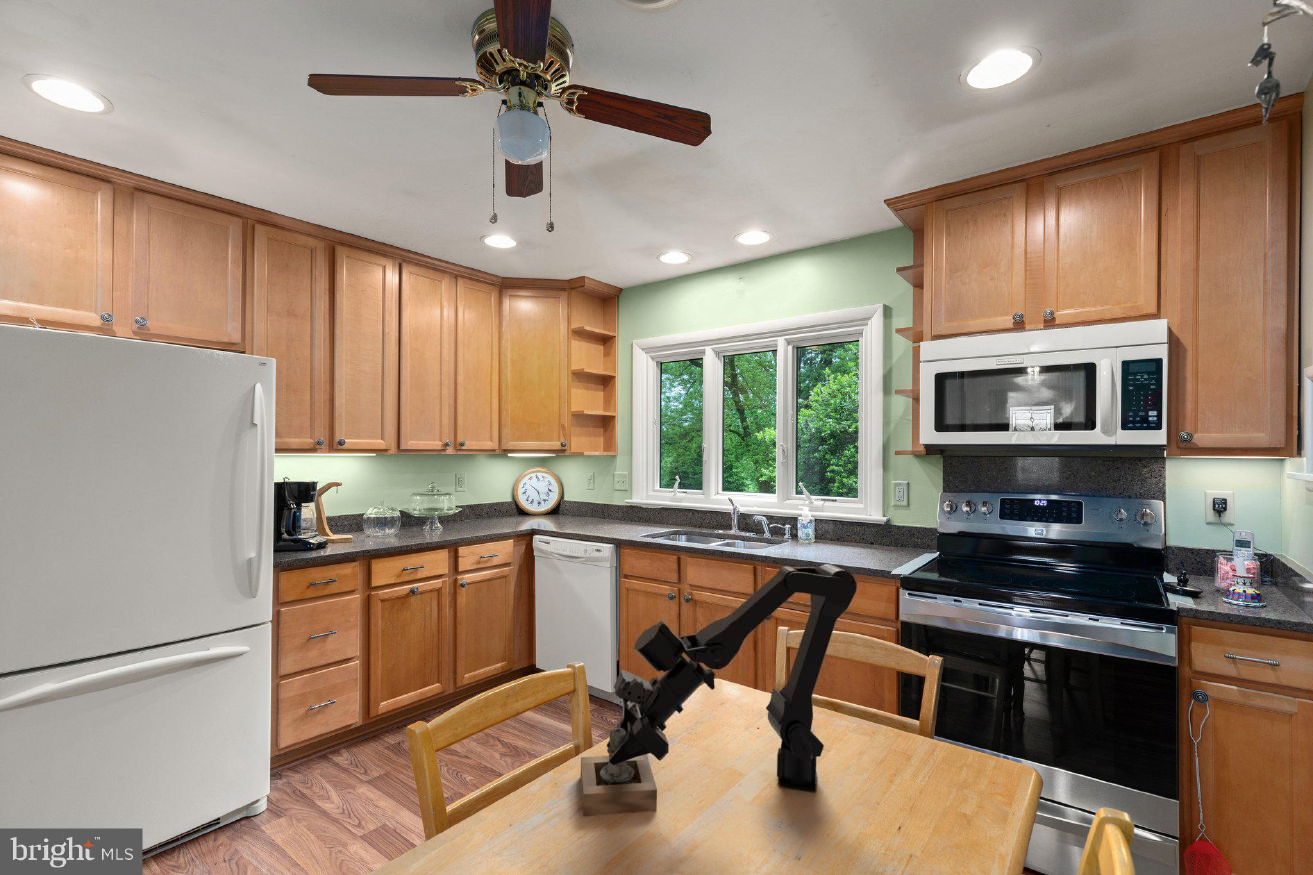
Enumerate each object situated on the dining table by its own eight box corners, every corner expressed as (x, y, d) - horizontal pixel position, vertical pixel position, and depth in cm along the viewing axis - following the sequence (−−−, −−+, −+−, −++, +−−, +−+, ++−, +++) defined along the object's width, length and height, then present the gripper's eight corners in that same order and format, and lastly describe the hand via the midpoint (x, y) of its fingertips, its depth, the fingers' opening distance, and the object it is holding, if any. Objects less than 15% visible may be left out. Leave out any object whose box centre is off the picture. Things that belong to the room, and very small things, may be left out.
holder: (646, 772, 115) (646, 753, 115) (656, 810, 103) (657, 789, 104) (580, 776, 113) (580, 757, 113) (583, 815, 102) (583, 794, 102)
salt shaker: (632, 803, 105) (634, 731, 106) (597, 802, 106) (599, 730, 106) (634, 784, 111) (636, 716, 111) (601, 783, 111) (603, 715, 112)
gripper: (635, 639, 118) (575, 701, 117) (650, 676, 100) (578, 750, 98) (675, 680, 120) (616, 741, 118) (697, 724, 101) (627, 797, 99)
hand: (609, 755), depth 108 cm, fingers open, 5 cm apart
